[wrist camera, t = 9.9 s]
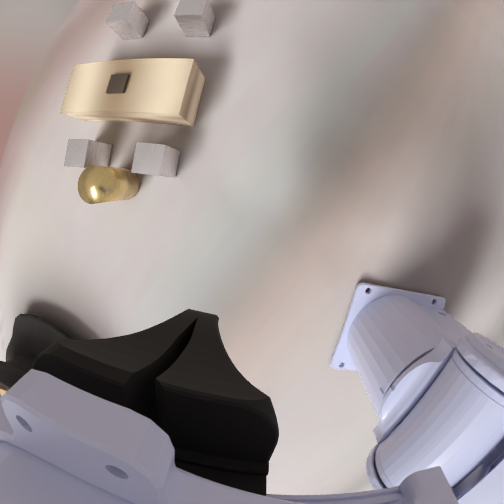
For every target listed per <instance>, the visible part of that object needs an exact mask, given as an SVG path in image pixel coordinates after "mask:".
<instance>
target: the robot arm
mask: <svg viewBox="0 0 504 504" xmlns="http://www.w3.org/2000/svg"><path fill="white" fill-rule="evenodd" d="M367 288H370V290H369V291H368V292H365V290H366V289H367ZM433 300H434V302H433V303H432V301H433ZM445 303H446V300H445V298H443V297H441V296H435V295H429V294H424V293H418V292H413V291H407V290H402V289H396V288H391V287H385V286H380V285H374V284H369V283H363V282H362V283H359V284H358V285H357V286H356V289H355V292H354V295H353V299H352V302H351V305H350V308H349V311H348V314H347V317H346V320H345V323H344V326H343V329H342V332H341V335H340V337H339V340H338V343H337V346H336V348H335V351H334V354H333V356H332V359H331V362H330V365H331V367H332V368H333V369H341V370H354V371H357V372H358V375H359V377H360V379H361V381H362V383H363V385H364V388H365V390H366V392H367V394H368V396H369V399H370V401H371V403H372V405H373V407H374V410H375V412H376V414H377V416H378V419H379V421H378V424H377V426H376V427H375V429H374V430H373V432H374V434H375V437H376V440H377V442H378V444H377V445H376V446H375V447H374V448H373V449H372V450H371V452H370V453H369V455H368V457H367V462H366V470H367V476H368V479H369V482H370V484H371V486H372V488H373V490H371V491H364V492H355V493H345V494H331V495H275V494H266V475H268V471H269V460H270V458H271V456H272V453H273V451H274V449H275V447H276V445H277V442H278V437H279V429H278V423H277V418H276V415H275V411H274V408H273V405H272V402H271V399H270V397H269V396H267V395H266V394H264V393H263V392H261V391H260V390H258V389H257V388H256V387H254V386H253V385H252V384H251V383H250V382H249V381H247V380H246V379H245V378H244V377H243V376H242V374H241V373H240V372H239V371H238V370H237V369H236V367H235V366H234V364H233V363H232V361H231V359H230V358H229V356H228V354H227V352H226V350H225V348H224V345H223V343H222V340H221V336H220V333H219V328H218V320H219V318H218V316H217V315H214V314H209V313H204V312H200V311H195V310H191V309H188V310H186V311H184V312H182V313H180V314H178V315H176V316H174V317H173V318H171V319H169V320H167V321H165V322H163V323H160V324H158V325H156V326H153V327H151V328H149V329H146V330H143V331H140V332H137V333H133V334H130V335H125V336H120V337H114V338H107V339H94V340H78V339H63V338H58V339H57V340H56V341H54V342H53V343H52V344H51V345H50V346H48V347H47V348H46V349H45V350H44V351H43V352H41V353H40V354H39V355H38V356H37V357H36V358H35V360H34V362H33V369H31V370H30V371H29V372H28V373H26V374H25V375H24V376H23V377H22V378H21V379H20V380H19V381H18V382H17V383H16V384H14V385H13V386H12V387H11V388H10V389H9V390H8V391H7V392H6V393H5V394H4V395H3V396H0V504H504V348H503V347H501V346H500V345H498V344H497V343H495V342H493V341H492V340H490V339H488V338H487V337H485V336H483V335H481V334H478V333H472V332H471V331H469V330H468V329H467V328H466V327H465V326H463V325H462V324H461V323H460V322H458V321H457V320H456V319H454V318H453V317H452V316H451V315H449V314H448V313H447V312H445V311H444V310H443V309H444V306H445ZM340 363H343V364H342V365H339V364H340Z"/></svg>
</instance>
